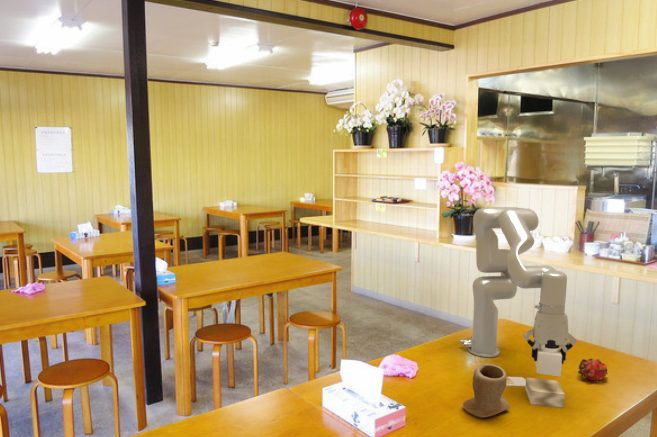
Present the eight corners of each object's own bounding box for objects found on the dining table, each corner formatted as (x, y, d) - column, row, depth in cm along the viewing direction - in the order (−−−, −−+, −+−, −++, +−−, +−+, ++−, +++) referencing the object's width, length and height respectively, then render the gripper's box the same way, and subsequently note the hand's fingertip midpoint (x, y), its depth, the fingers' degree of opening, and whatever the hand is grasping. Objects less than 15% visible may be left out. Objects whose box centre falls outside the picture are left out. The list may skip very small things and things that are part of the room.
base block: (530, 405, 163) (531, 390, 162) (525, 391, 172) (526, 377, 172) (563, 409, 160) (565, 394, 160) (556, 394, 170) (557, 380, 170)
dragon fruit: (575, 384, 181) (601, 385, 184) (592, 379, 174) (619, 380, 177) (568, 360, 185) (594, 362, 189) (585, 354, 178) (612, 356, 182)
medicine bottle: (558, 368, 167) (560, 333, 165) (560, 376, 160) (563, 340, 159) (535, 365, 169) (537, 330, 168) (536, 373, 162) (539, 338, 161)
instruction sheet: (500, 385, 176) (500, 384, 176) (495, 376, 182) (495, 375, 182) (529, 386, 175) (529, 385, 175) (523, 377, 182) (523, 377, 182)
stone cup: (485, 426, 149) (488, 378, 147) (457, 408, 159) (459, 363, 157) (520, 414, 156) (523, 368, 154) (491, 397, 167) (494, 354, 165)
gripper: (525, 310, 160) (521, 362, 163) (584, 314, 157) (579, 368, 159) (521, 303, 168) (518, 353, 170) (578, 307, 164) (573, 359, 166)
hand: (548, 360), depth 164 cm, fingers closed on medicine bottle, 7 cm apart
